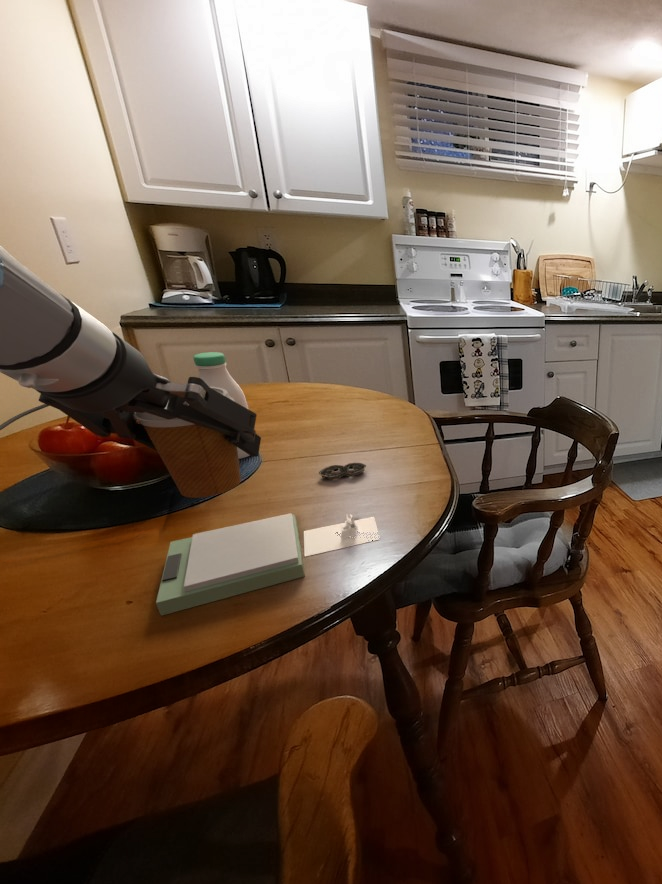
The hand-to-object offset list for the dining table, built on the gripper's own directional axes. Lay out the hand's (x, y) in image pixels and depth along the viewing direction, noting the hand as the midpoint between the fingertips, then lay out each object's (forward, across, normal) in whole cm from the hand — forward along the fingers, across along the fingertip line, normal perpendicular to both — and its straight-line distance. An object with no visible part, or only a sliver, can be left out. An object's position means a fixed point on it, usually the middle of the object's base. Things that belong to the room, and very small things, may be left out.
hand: (217, 447), depth 64 cm
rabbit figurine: (+13, +12, -10) cm, 20 cm away
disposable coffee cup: (+1, 0, -5) cm, 5 cm away
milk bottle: (+35, -16, +12) cm, 41 cm away
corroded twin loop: (+27, +7, +5) cm, 29 cm away
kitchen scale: (+9, 0, -14) cm, 17 cm away
